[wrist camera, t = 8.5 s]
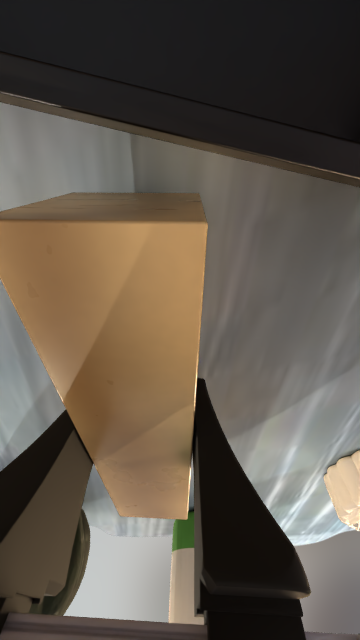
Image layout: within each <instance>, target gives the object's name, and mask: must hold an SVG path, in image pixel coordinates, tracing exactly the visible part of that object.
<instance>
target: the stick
mask: <svg viewBox="0 0 360 640" xmlns="http://www.w3.org/2000/svg"><path fill="white" fill-rule="evenodd" d="M207 227H208V224H207V220H206V216H205V213H204V209H203V205H202V201H201V198H200V194H199V193H76V192H73V193H69V194H65V195H62V196H58V197H54V198H50V199H46V200H43V201H39V202H35V203H31V204H28V205H24V206H20V207H16V208H12V209H9V210H5V211H1V212H0V279H1V281H2V283H3V285H4V287H5V289H6V291H7V293H8V295H9V297H10V299H11V301H12V303H13V305H14V307H15V309H16V311H17V313H18V315H19V317H20V319H21V321H22V323H23V325H24V327H25V329H26V330H27V332H28V334H29V336H30V338H31V340H32V342H33V344H34V346H35V348H36V350H37V352H38V354H39V356H40V358H41V360H42V362H43V364H44V366H45V368H46V370H47V372H48V374H49V376H50V378H51V380H52V382H53V384H54V386H55V388H56V390H57V392H58V394H59V396H60V398H61V400H62V402H63V404H64V406H65V408H66V410H67V412H68V414H69V416H70V418H71V420H72V422H73V424H74V426H75V428H76V430H77V432H78V434H79V435H80V437H81V439H82V441H83V443H84V445H85V447H86V449H87V451H88V453H89V455H90V457H91V459H92V461H93V463H94V465H95V467H96V469H97V471H98V473H99V475H100V477H101V479H102V481H103V483H104V485H105V487H106V489H107V491H108V493H109V495H110V497H111V499H112V501H113V503H114V505H115V507H116V509H117V511H118V513H119V515H120V516H126V517H145V518H164V519H183V520H187V517H188V502H189V488H190V473H191V459H192V444H193V430H194V415H195V401H196V386H197V372H198V358H199V343H200V329H201V314H202V300H203V285H204V271H205V256H206V242H207Z"/></svg>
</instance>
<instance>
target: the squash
mask: <svg viewBox="0 0 360 640" xmlns="http://www.w3.org/2000/svg"><path fill="white" fill-rule="evenodd" d="M89 549H90V528H89V524H88V521H87V518H86V515H85V513H84V511H83V509H82V508H81V512H80V516H79V520H78V525H77V529H76V534H75V538H74V543H73V547H72V552H71V558H70V563H69V568H68V573H67V578H66V583H65V586H64V588H63V589H62V590H61V591H60V592H59V593H58V594H57V595H56V596H44V597H43V600H42V602H41V604H31V607H30V610H29V613H28V614H42V615H58V616H63V615H64V613H65V612H66V610H67V609H68V607H69V605H70V604H71V602H72V601H73V599H74V597H75V595H76V593H77V591H78V589H79V586H80V583H81V581H82V579H83V576H84V573H85V569H86V565H87V560H88V555H89Z"/></svg>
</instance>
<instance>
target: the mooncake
mask: <svg viewBox="0 0 360 640" xmlns="http://www.w3.org/2000/svg"><path fill="white" fill-rule="evenodd" d="M323 479H324V482H325V485H326V488H327V490H328V493H329V495H330V498H331V500H332V503H333V505H334V507H335V510H336V512H337V515H338V517H339V519H340V520H341V521H342V522H343V523H345V524H347V525H348V526H350V527H352V528H356V530H357V531H360V450H359V451H356V452H355V453H354V454H353V455H352V456H348V457H344V458H341V459H339V460H338V461H337V464H336V465H332V466H330V467H329V468H328V469H327V474H325V475H324V478H323Z"/></svg>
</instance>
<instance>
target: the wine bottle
mask: <svg viewBox="0 0 360 640" xmlns="http://www.w3.org/2000/svg"><path fill="white" fill-rule="evenodd" d="M171 560H172V561H171V581H170V602H169V603H170V604H169V623H181V624H196V625H204V617H194V511H191V512H188V517H187V520H183V519H176V520H175V523H174V527H173V543H172V559H171Z"/></svg>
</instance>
